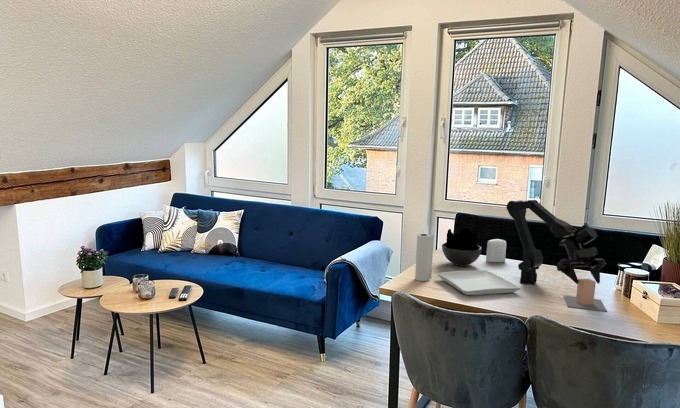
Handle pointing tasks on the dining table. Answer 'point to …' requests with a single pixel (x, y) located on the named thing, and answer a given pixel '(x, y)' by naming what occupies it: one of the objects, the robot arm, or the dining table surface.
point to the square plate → (478, 282)
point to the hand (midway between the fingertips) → (588, 283)
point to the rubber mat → (573, 304)
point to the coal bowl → (461, 248)
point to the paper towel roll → (424, 257)
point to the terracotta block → (585, 291)
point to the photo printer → (496, 250)
